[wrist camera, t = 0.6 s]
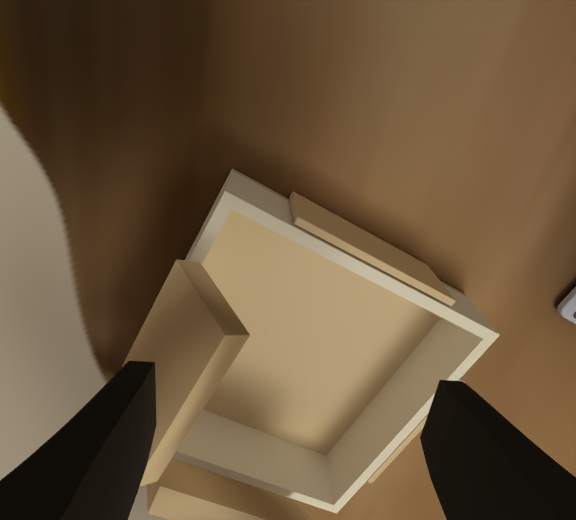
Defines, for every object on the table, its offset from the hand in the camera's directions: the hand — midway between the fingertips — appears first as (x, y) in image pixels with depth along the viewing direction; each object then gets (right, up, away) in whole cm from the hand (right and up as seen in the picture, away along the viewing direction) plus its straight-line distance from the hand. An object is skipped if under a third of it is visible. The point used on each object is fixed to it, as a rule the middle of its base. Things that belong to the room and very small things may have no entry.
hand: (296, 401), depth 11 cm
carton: (0, 0, +11) cm, 11 cm away
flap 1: (-4, -1, +5) cm, 7 cm away
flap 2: (-2, -7, +8) cm, 11 cm away
